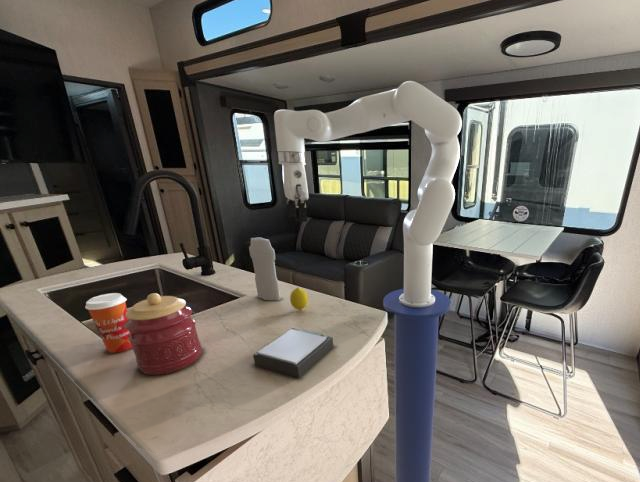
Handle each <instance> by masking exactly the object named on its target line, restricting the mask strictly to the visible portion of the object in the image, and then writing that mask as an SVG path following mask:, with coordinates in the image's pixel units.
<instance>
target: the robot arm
mask: <svg viewBox="0 0 640 482" xmlns="http://www.w3.org/2000/svg"><path fill="white" fill-rule="evenodd" d="M410 121H412V122H413V123H415V124H416V125H417V126H419V127H420V128H422V129H424V134H425V135H426V137H427V140H429V143H430V145H431V155H430V159H429V161H428V165H427V166H426V169H425V172H424V175H423V177H422V179H421V181H420V183H419V186H418V189H417V198H418V200H419V201H418V204H417V207H416V208H415V209H412V210H410V211H409V212H408V213H407V214H406V215H405V217H404V219H403V223H402V233H403V235H402V236H403V289H404V293H403V294H401V295H400V297H399V301H400V302H401V303H402V304H403V305H405V306H408V307H415V308H421V307H427V306H430V305H432V304H433V303H434V302H435V297H434V296H433V295H432V294H431V290H432V273H433V250H434V249H433V248H434V247H433V243H435V242H436V241H437V240H438V238H439V236H440V235H441V233H442V231H443V228H444V226H445V225H446V222H447V220H448V217H449V214H450V213H451V210H452V208H453V205H454V203H455V198H456V197H455V196H456V192H455V191H456V190H455V188H454V185H453V184H452V181H453V179H454V175H455V173H456V170H457V167H458V165H459V161H460V156H461V148H460V147H461V146H460V142H459V137H458V135H459V133H460V132H461V130H462V126H463V125H462V124H463V121H462V117H461V114H460V112H459V111H458V110H457V108H455V107H454V106H453V105H452V104H450V103H448V101H446V100H445V99H443V98H441V97H440V96H438V95H437V94H436V93H434V92H433V91H431V90H430V89H429V88H427V87H425V86H424V85H422V84H421V83H419V82H416V81H413V80H408V81H404V82H402V83H401V84H400V85H398V87H397V88H394V89H391V90H387V91H382V92H379V93H374V94H369V95H366V96H362V97H359V98H358V99H356V100H354V101H353V102H352V103H351V104H349V105H348V106H345V107H342V108H340V109H339V108H338V109H337V110H333V111H328V112H322V111H321V110H318V109H308V110H293V109H278V110H276V111H275V112H274V114H273V122H274V131H275V140H276V142H275V143H276V151H277V160H278V165H282V166H281V167H282V181H283V192H284V196H285V198H286V211H287V217H288V218H295V222H296V223H304V222H308V213H307V212H308V211H307V203H306V202H307V201H308V200H309V188H308V180H307V173H306V167H305V166H306V165H307V160H306V147H305V139H307V140H313V141H315V142H317V143H326V142H329V141H333V140H338V139H343V138H345V137H349V136H353V135H356V134H363V133H367V132H370V131H374V130H377V129H378V130H379V129H382V128H385V127H386V128H387V127H389V126H393V125H398V124H403V123H406V122H410Z"/></svg>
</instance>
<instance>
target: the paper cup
mask: <svg viewBox="0 0 640 482" xmlns="http://www.w3.org/2000/svg"><path fill="white" fill-rule="evenodd" d="M127 300H128V299H127V298H126V297H125V296H124V295H122V293H120V292H119V293H118V292H111V293H104V294H99V295H97V296H93V297H91V298H90V299H88V300H87V301H86V302H85V309H86V310H88V313H89V315H90V317H91V319H92V321H93V323H94V325H95V328H96V330H97V332H98V334H99V336H100V338H101V340H102V342H103V344H104V346H105V348H106V350H107V352H109V353H111V354H115V353H121V352H125V351H127V350H130V349H131V348H132V345H131V342H129V340H128V337H129V335H130V333H129V331H128V330H126V329H125V328H124V323H125V321H126V320H127V319H128V318H127V317H126V316H125V314H126V312H127V311H128V307H127V303H126V301H127ZM132 349H133V348H132Z"/></svg>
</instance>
